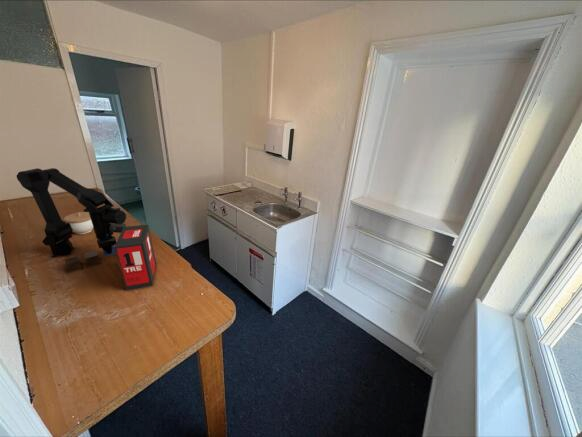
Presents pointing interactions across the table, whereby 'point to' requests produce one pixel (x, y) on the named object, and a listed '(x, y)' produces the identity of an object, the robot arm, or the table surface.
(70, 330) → the table surface
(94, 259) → the walnut block
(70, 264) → the walnut block
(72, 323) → the table surface
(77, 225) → the lidded bowl
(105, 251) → the blue block
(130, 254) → the cleaning product box
